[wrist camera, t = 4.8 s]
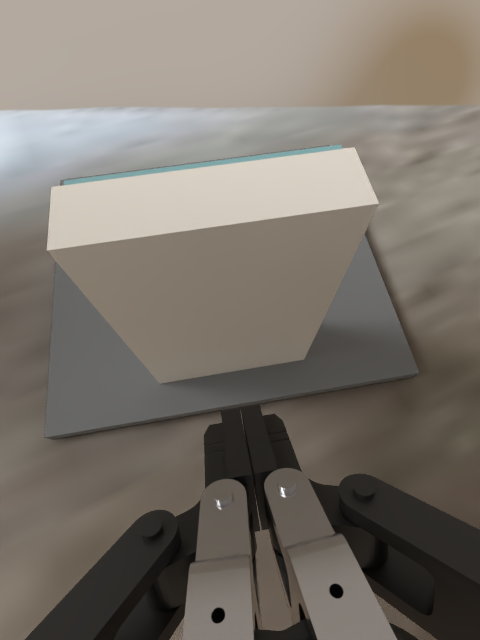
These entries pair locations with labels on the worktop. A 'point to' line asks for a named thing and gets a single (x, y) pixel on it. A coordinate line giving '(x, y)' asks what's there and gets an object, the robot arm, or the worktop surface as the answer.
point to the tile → (215, 255)
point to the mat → (220, 389)
